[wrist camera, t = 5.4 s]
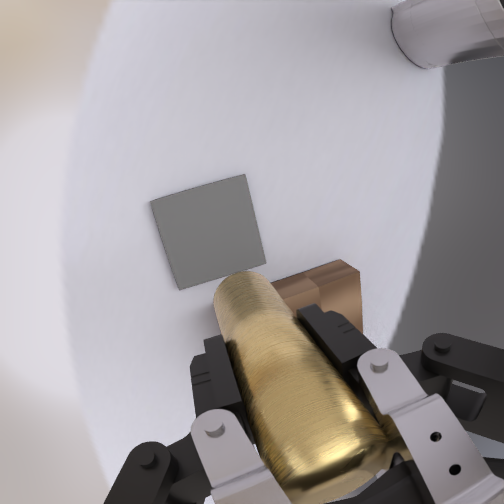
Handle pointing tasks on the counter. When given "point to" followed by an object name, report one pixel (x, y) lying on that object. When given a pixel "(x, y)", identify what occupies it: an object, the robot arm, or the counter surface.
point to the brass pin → (295, 397)
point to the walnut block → (325, 290)
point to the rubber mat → (209, 231)
